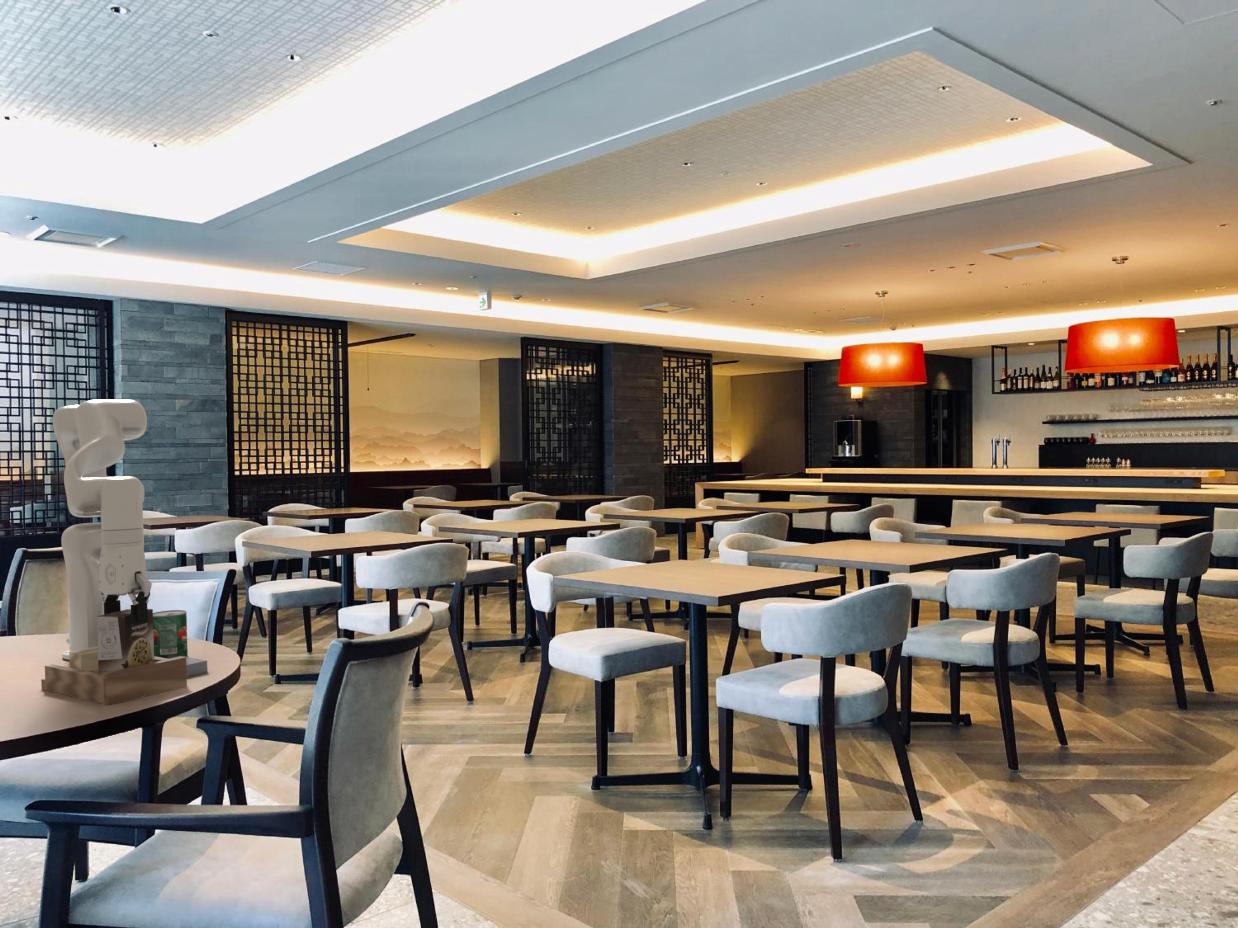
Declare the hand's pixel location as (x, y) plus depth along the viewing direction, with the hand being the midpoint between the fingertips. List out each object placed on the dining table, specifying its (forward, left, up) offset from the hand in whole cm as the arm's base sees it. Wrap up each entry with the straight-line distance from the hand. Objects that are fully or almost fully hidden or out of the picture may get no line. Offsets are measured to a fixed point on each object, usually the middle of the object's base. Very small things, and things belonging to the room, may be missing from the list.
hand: (126, 622), depth 197 cm
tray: (-5, 0, -14) cm, 15 cm away
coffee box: (0, 0, -14) cm, 14 cm away
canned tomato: (-19, +21, -14) cm, 32 cm away
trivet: (-5, +14, -14) cm, 21 cm away
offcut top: (-13, 0, -11) cm, 16 cm away
